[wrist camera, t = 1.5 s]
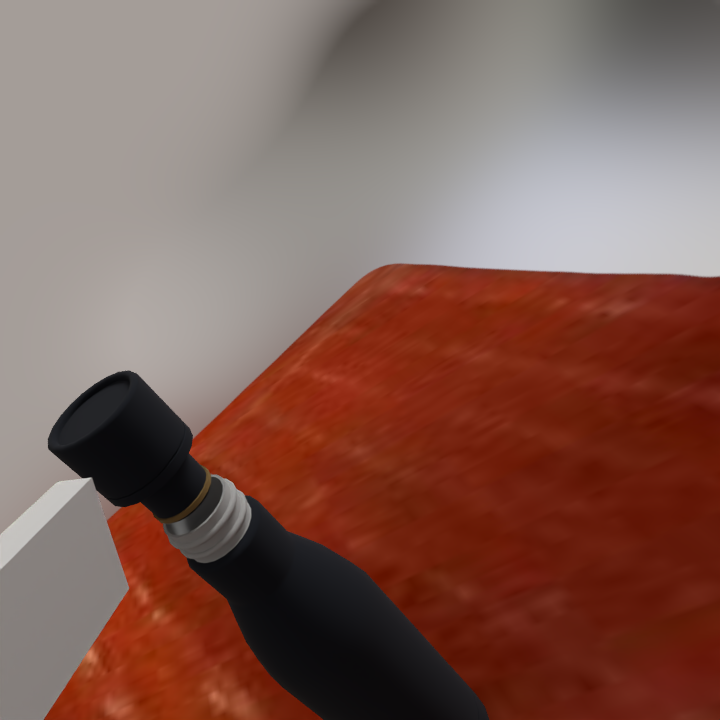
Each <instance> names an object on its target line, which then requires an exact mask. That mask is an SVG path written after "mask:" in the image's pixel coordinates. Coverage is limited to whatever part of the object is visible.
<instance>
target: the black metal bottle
mask: <svg viewBox="0 0 720 720" xmlns="http://www.w3.org/2000/svg"><path fill="white" fill-rule="evenodd" d="M192 438H193V435H192V433H191V431H190V428H189V427H188V426H187V425H186V424H185V423H184V422H183V421H182V420H181V419H180V418H179V417H178V416H177V415H176V414H175V413H174V412H173V411H172V410H171V409H170V408H169V406H168V405H166V403H165V402H164V401H163V400H162V399H161V398H159V396H158V395H157V394H156V393H155V392H154V391H153V390H152V389H151V388H150V387H149V386H148V385H147V384H146V383H145V382H144V381H143V380H142V379H141V377H139V375H138V374H136V373H134V372H131V371H122V372H117V373H115V374H113V375H110V376H108V377H106V378H104V379H103V380H101V381H99V382H98V383H96V384H94V385H93V386H92V387H90V388H89V389H88V390H86V391H85V392H84V393H82V394H81V395H80V396H79V397H78V398H77V399H76V400H75V401H74V402H73V403H72V404H71V405H70V406H69V407H68V408H67V409H66V410H65V411H64V413H63V414H62V415H61V416H60V418H59V419H58V420H57V422H56V423H55V425H54V426H53V428H52V430H51V433H50V435H49V438H48V449H49V450H50V451H51V452H52V453H53V454H54V455H56V456H57V457H58V458H59V459H60V460H61V461H63V462H64V463H65V464H66V465H67V466H69V467H70V468H71V469H72V470H73V471H74V472H76V473H77V474H78V475H79V476H80V477H82V478H92V479H93V482H94V485H95V488H96V490H97V491H98V492H99V493H100V494H102V495H103V496H104V497H105V498H106V499H108V500H109V501H110V502H111V503H112V504H113V505H115V506H119V507H127V506H130V505H134V504H137V503H139V502H141V503H142V504H143V505H144V506H146V507H147V508H148V509H149V510H150V511H151V512H152V513H153V515H154V517H155V518H156V519H157V520H159V521H160V522H161V523H163V527H164V531H165V533H166V534H167V535H168V538H169V541H170V543H171V544H172V545H173V546H174V547H175V548H177V549H180V551H181V553H182V554H183V555H185V556H186V557H187V561H188V564H189V566H190V568H191V569H192V570H194V571H195V572H196V573H197V574H198V575H199V576H201V577H202V578H203V579H204V580H205V581H206V582H208V583H209V584H210V585H211V586H212V587H213V588H215V589H216V590H217V591H218V592H219V593H221V594H222V595H223V596H224V597H225V598H226V599H227V600H228V603H229V605H230V607H231V609H232V612H233V614H234V616H235V618H236V621H237V623H238V625H239V627H240V629H241V631H242V634H243V636H244V638H245V640H246V642H247V644H248V645H249V647H250V648H251V650H252V651H253V653H254V654H255V656H256V657H257V659H258V660H259V661H260V663H261V664H262V665H263V666H264V668H265V669H266V670H267V672H268V673H269V674H270V675H271V677H273V678H274V679H275V680H276V681H277V682H278V683H279V684H280V685H281V686H282V687H283V688H284V689H285V690H287V691H288V692H289V693H291V694H292V695H293V696H294V697H296V698H297V699H298V700H299V701H301V702H302V703H303V704H305V705H306V706H307V707H308V708H310V709H311V710H312V711H313V712H315V713H316V714H317V715H319V716H320V717H321V718H322V719H324V720H489V718H488V715H487V712H486V709H485V706H484V705H483V704H482V702H481V701H480V699H479V698H478V697H477V695H476V694H475V693H474V692H473V691H472V689H471V688H470V687H469V686H468V685H467V684H466V683H465V682H464V681H463V680H462V678H461V677H460V676H459V675H458V674H457V673H456V672H455V671H454V670H453V668H452V667H451V666H450V665H449V664H448V663H447V662H446V661H445V660H444V659H443V657H442V656H441V655H440V654H439V653H438V652H437V651H436V650H435V649H434V647H433V646H432V645H431V644H430V643H429V642H428V641H427V640H426V639H425V638H424V636H423V635H422V634H421V633H420V632H419V631H418V630H417V629H416V628H415V626H414V625H413V624H412V623H411V622H410V621H409V620H408V619H407V618H406V617H405V615H404V614H403V613H402V612H401V611H400V610H399V609H398V608H397V607H396V606H395V604H394V603H393V602H392V601H391V600H390V599H389V598H388V597H387V596H386V594H385V593H384V592H383V591H382V590H381V589H380V588H379V587H378V586H377V585H376V583H375V582H374V581H373V580H372V579H371V578H370V577H369V576H368V575H367V573H366V572H364V571H363V570H361V569H360V568H359V567H357V566H356V565H354V564H353V563H351V562H350V561H348V560H347V559H345V558H343V557H342V556H340V555H338V554H337V553H335V552H333V551H332V550H330V549H328V548H327V547H325V546H323V545H321V544H319V543H316V542H314V541H311V540H309V539H306V538H304V537H301V536H299V535H296V534H293V533H291V532H288V531H286V530H285V529H284V527H283V526H282V525H281V524H280V523H279V522H278V521H277V520H276V519H275V518H274V517H273V516H272V515H271V514H270V513H269V512H268V511H267V510H266V509H265V508H264V507H263V506H262V505H261V504H260V503H259V502H258V501H257V500H256V499H254V498H252V497H250V496H244V494H243V493H242V492H241V491H239V490H237V489H236V487H235V485H234V483H233V482H231V481H229V480H227V479H223V478H222V477H220V476H218V475H210V472H209V471H208V470H207V469H206V468H205V467H204V466H202V465H200V464H199V463H198V462H197V461H196V460H195V459H194V458H193V457H192V456H191V455H190V454H189V451H190V449H191V446H192Z"/></svg>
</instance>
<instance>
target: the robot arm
mask: <svg viewBox="0 0 720 720" xmlns="http://www.w3.org/2000/svg"><path fill="white" fill-rule="evenodd" d="M128 589H129V587H128V584H127V581H126V578H125V575H124V572H123V569H122V566H121V563H120V560H119V557H118V554H117V551H116V548H115V545H114V542H113V539H112V536H111V533H110V530H109V527H108V524H107V521H106V518H105V515H104V512H103V509H102V507H101V503H100V500H99V497H98V494H97V491H96V488H95V485H94V482H93V479H92V478H83V479H75V480H67V481H58V482H57V483H56V484H55V485H54V486H53V487H51V488H50V489H49V490H48V491H47V492H46V493H45V494H44V495H43V496H42V497H41V498H39V499H38V500H37V501H36V502H35V503H34V504H33V505H32V506H31V507H30V508H29V509H28V510H26V511H25V512H24V513H23V514H22V515H21V516H20V517H19V518H18V519H17V520H16V521H15V522H14V523H12V524H11V525H10V526H9V527H8V528H7V529H6V530H5V531H4V532H3V533H2V534H1V535H0V720H44V718H45V716H46V715H47V713H48V712H49V710H50V709H51V707H52V706H53V704H54V703H55V701H56V700H57V698H58V697H59V695H60V693H61V692H62V690H63V689H64V687H65V686H66V684H67V683H68V681H69V680H70V678H71V677H72V675H73V674H74V672H75V671H76V669H77V667H78V666H79V664H80V663H81V661H82V660H83V658H84V657H85V655H86V654H87V652H88V651H89V649H90V648H91V646H92V644H93V643H94V641H95V640H96V638H97V637H98V635H99V634H100V632H101V631H102V629H103V628H104V626H105V625H106V623H107V621H108V620H109V618H110V617H111V615H112V614H113V612H114V611H115V609H116V608H117V606H118V605H119V603H120V602H121V600H122V599H123V597H124V595H125V594H126V592H127V591H128Z"/></svg>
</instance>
